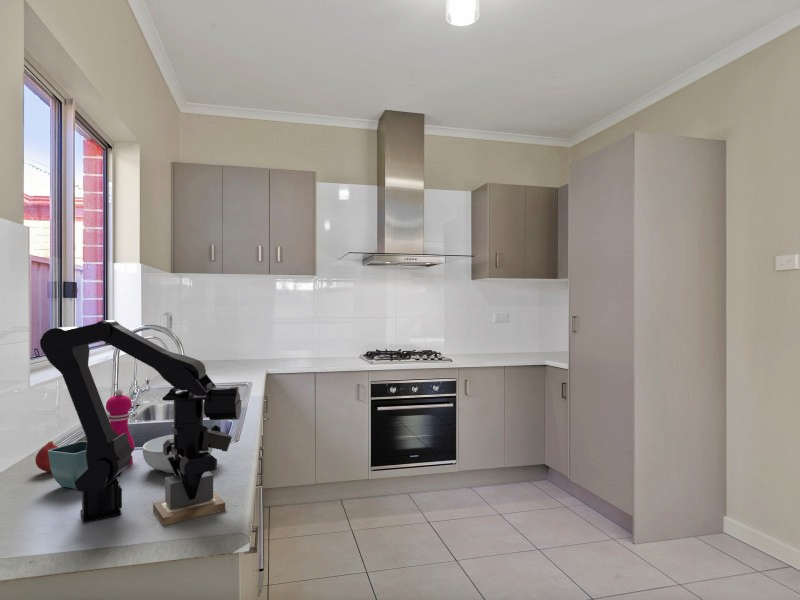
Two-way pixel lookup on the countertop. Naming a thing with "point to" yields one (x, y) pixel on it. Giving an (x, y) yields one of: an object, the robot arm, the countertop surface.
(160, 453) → the cereal bowl
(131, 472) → the countertop surface
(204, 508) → the pin board
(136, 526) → the countertop surface
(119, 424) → the pepper mill
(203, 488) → the block
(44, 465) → the onion
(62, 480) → the flower pot
